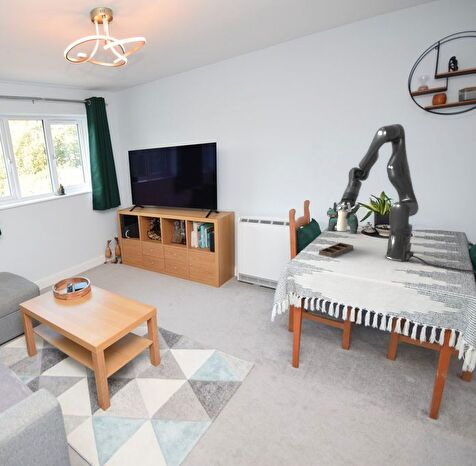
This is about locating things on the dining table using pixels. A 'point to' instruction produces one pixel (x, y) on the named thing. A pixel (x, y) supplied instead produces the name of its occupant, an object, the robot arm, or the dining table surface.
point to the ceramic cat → (351, 221)
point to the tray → (336, 250)
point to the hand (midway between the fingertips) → (341, 217)
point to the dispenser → (342, 219)
